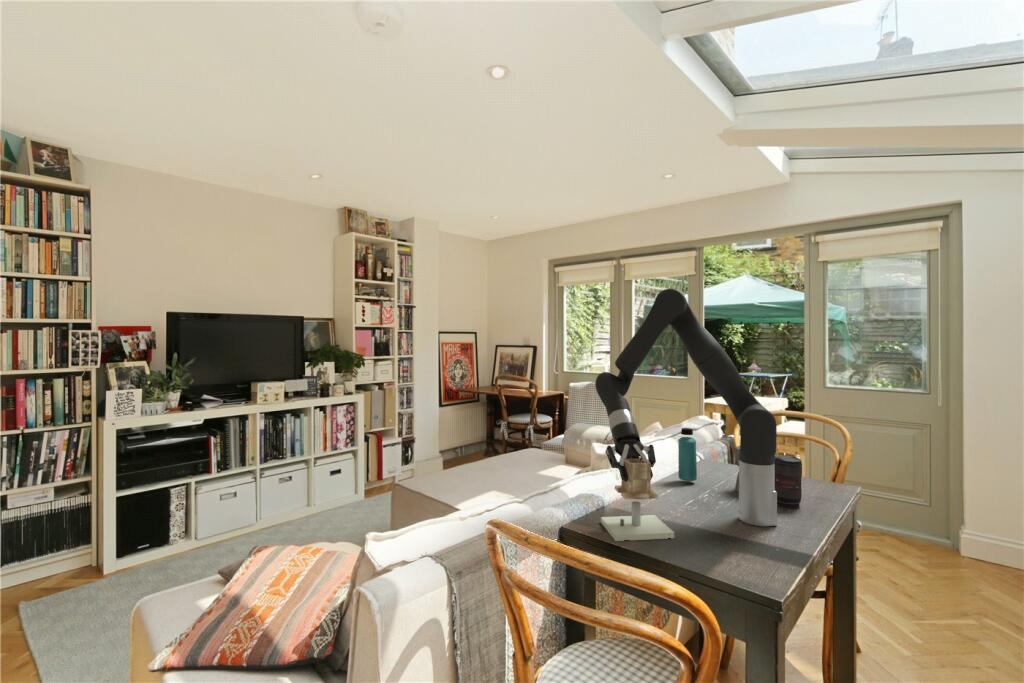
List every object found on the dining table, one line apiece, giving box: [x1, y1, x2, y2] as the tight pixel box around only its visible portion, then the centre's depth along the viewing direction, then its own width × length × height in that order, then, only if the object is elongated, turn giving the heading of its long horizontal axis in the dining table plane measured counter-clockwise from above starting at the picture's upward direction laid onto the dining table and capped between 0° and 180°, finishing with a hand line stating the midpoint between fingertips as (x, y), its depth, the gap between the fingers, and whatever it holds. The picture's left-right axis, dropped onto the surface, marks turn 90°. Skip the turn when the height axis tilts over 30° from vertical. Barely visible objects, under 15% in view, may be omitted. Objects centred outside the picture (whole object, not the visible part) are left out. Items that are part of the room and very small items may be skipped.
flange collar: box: [614, 458, 659, 501], centre depth 132 cm, size 9×9×9 cm
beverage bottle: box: [677, 427, 698, 482], centre depth 176 cm, size 6×7×20 cm
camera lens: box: [775, 454, 803, 509], centre depth 152 cm, size 8×8×15 cm
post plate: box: [600, 501, 675, 542], centre depth 132 cm, size 16×13×8 cm
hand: (638, 479), depth 130 cm, fingers closed on flange collar, 6 cm apart
